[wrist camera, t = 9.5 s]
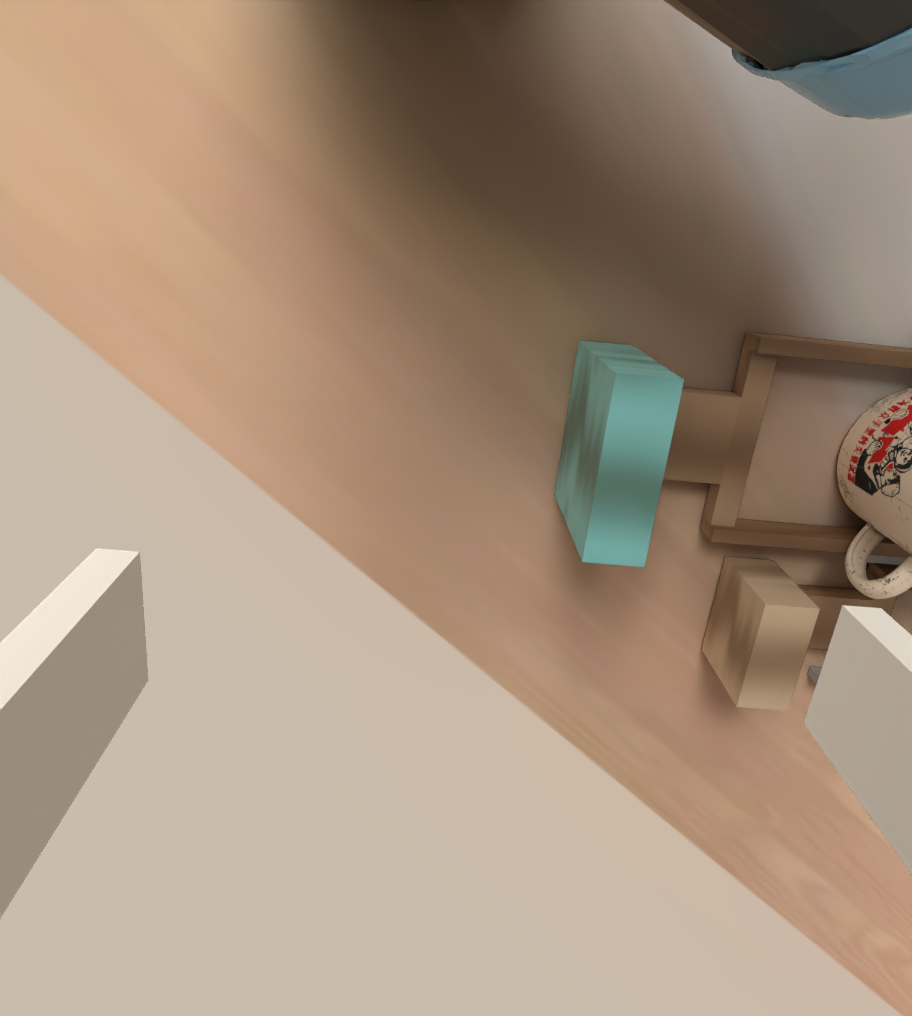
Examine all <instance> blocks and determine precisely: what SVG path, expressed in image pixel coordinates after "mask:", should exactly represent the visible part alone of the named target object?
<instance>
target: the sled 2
mask: <svg viewBox="0 0 912 1016" xmlns="http://www.w3.org/2000/svg"><path fill="white" fill-rule="evenodd" d="M899 566H900V565H893V564H881V563H869V566H868V569H867V572H866V576H867V579H868V580H876V579H880V578H882V577H885V576H887V575H888V574H890V573H891V572H893V571H894V570H895V569H896V568H897V567H899ZM909 590H912V587H911V588H909ZM896 598H897V596H894V597H890V598H886V599H873V598H870V597H868V596H866V595H864V594H862V593H861V592H860V591H858V590H857V589H846V588H834V587H821V586H809V585H796V583H795V582H794V581H793V580H792V579H791V578H790V577H789V576H788V575H787V574H786V573H785V572H784V571H783V570H782V569H781V568H780V567H779V566H778V565H777V564H776V563H775V562H774V561H773V560H764V559H751V558H739V557H727V556H725V559H724V563H723V567H722V571H721V575H720V579H719V583H718V587H717V590H716V594H715V598H714V602H713V606H712V610H711V614H710V618H709V622H708V626H707V630H706V633H705V637H704V641H703V645H702V651H703V653H704V654H705V656H706V658H707V659H708V661H709V663H710V664H711V666H712V668H713V669H714V671H715V673H716V674H717V676H718V678H719V679H720V681H721V682H722V684H723V686H724V687H725V689H726V691H727V692H728V694H729V696H730V697H731V699H732V701H733V702H734V704H735V706H736V707H742V708H756V709H771V710H785V711H788V708H789V705H790V702H791V699H792V696H793V693H794V689H795V686H796V683H797V680H798V677H799V674H800V670H801V667H802V664H803V661H804V658H805V655H806V651H807V648H816V649H828V648H829V645H830V642H831V639H832V636H833V633H834V629H835V626H836V623H837V620H838V617H839V614H840V611H841V608H842V605H846V606H859V607H872V608H881V609H883V610H884V611H885V612H886V613H887V614H888V615H889V616H890V615H891V612H892V609H893V606H894V604H895V601H896Z"/></svg>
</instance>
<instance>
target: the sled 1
mask: <svg viewBox="0 0 912 1016" xmlns="http://www.w3.org/2000/svg"><path fill="white" fill-rule="evenodd" d="M778 355H782V356H792V357H802V358H812V359H823V360H833V361H843V362H853V363H863V364H873V365H884V366H894V367H904V368H912V348H903V347H893V346H883V345H873V344H863V343H853V342H843V341H833V340H823V339H813V338H803V337H793V336H783V335H773V334H763V333H753V332H746V336H745V340H744V344H743V348H742V353H741V357H740V361H739V365H738V369H737V374H736V378H735V382H734V386H733V390H732V392H729V391H719V390H708V389H698V388H687V387H683V383H684V379H682V378H681V377H679V376H678V375H676V374H675V373H673V372H672V371H670V370H669V369H667V368H666V367H665V366H663V365H662V364H660V363H659V362H657V361H656V360H654V359H653V358H651V357H650V356H648V355H647V354H645V353H644V352H642V351H641V350H639V349H638V348H636V347H635V346H633V345H624V344H614V343H604V342H594V341H583V340H579V342H578V349H577V355H576V361H575V368H574V374H573V380H572V387H571V393H570V400H569V406H568V412H567V419H566V425H565V431H564V438H563V444H562V450H561V457H560V463H559V469H558V476H557V482H556V488H555V498H556V500H557V503H558V505H559V507H560V510H561V512H562V515H563V517H564V519H565V522H566V524H567V527H568V529H569V532H570V534H571V536H572V539H573V541H574V544H575V546H576V549H577V551H578V553H579V556H580V558H581V561H582V562H586V563H599V564H611V565H624V566H636V567H644V566H645V562H646V557H647V552H648V548H649V543H650V538H651V534H652V529H653V524H654V519H655V515H656V510H657V505H658V501H659V496H660V491H661V487H662V482H663V479H666V480H677V481H688V482H700V483H710V487H709V491H708V495H707V500H706V504H705V508H704V512H703V516H702V521H701V525H700V529H701V530H702V531H703V533H704V534H705V535H706V536H707V537H708V539H709V540H710V541H711V542H719V543H732V544H744V545H756V546H768V547H780V548H792V549H804V550H816V551H828V552H840V553H847V550H848V548H849V546H850V544H851V542H852V541H853V539H854V538H855V537H856V535H857V534H858V533H859V532H860V531H861V530H862V529H853V528H841V527H829V526H817V525H805V524H794V523H782V522H770V521H758V520H747V519H736V518H737V514H738V511H739V507H740V503H741V499H742V495H743V491H744V487H745V483H746V479H747V475H748V472H749V468H750V464H751V460H752V456H753V452H754V448H755V444H756V440H757V436H758V433H759V429H760V425H761V421H762V417H763V413H764V409H765V405H766V401H767V397H768V394H769V390H770V386H771V382H772V378H773V374H774V370H775V366H776V362H777V358H778ZM870 555H876V556H888V557H900V558H908V557H909V556H910V555H911V554H910V553H909V552H907V551H906V550H904V549H903V548H902V547H900V546H899V545H897V544H896V543H895V542H893V541H892V540H890V539H889V538H888V537H884V538H883V539H882V540H881V541H880V543H879V544H878V545H877V546H876V547H875V548H874V549H873V551H872V552H871V554H870Z"/></svg>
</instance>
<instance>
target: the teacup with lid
mask: <svg viewBox="0 0 912 1016" xmlns="http://www.w3.org/2000/svg"><path fill="white" fill-rule="evenodd" d="M837 481H838V485H839V489H840V492H841V495H842V497H843V499H844V501H845V502H846V504H847V505H848V506H849V508H850V509H851V510H852V511H853V512H854V513H855V514H856V515H857V516H859V517H860V518H862V519H863V520H864V521H866V522H867V524H866V525H865V526H864V527H863V529H862V530H861V531H860V532H859V533H858V534H857V535H856V537H855V538H854V539H853V541H852V542H851V544H850V546H849V548H848V550H847V553H846V558H845V570H846V574H847V577H848V579H849V581H850V582H851V584H852V585H853V586H854V587H855V588H856V589H857V590H858V591H860V592H861V593H862V594H864V595H866V596H868V597H870V598H873V599H886V598H890V597H894V596H897V595H899V594H901V593H903V592H905V591H906V590H908V589H909V588H911V587H912V387H911V388H907V389H904V390H901V391H898V392H895V393H893V394H891V395H889V396H887V397H885V398H883V399H882V400H880V401H878V402H877V403H876V404H874V405H873V406H872V407H870V408H869V409H868V410H867V411H866V412H865V413H864V414H863V415H862V416H861V417H860V418H859V419H858V420H857V421H856V422H855V424H854V425H853V426H852V428H851V429H850V431H849V432H848V434H847V436H846V438H845V440H844V442H843V444H842V447H841V450H840V453H839V457H838V463H837ZM884 537H888V538H889V539H890V540H892V541H893V542H895V543H896V544H897V545H899V546H900V547H902V548H903V549H904V550H906V551H907V552H909V553H910V554H911V555H910V556H909V557H908V558H907V559H906V560H905V561H904V562H903V563H902V564H901V565H900V566H899V567H897V568H896V569H895V570H894V571H893V572H891V573H890V574H888V575H887V576H885V577H882V578H880V579H876V580H868V579H867V576H866V563H867V560H868V557H869V555H870V554H871V552H872V551H873V549H874V548H875V547H876V546H877V545H878V544H879V543H880V541H881V540H882V539H883V538H884Z"/></svg>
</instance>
